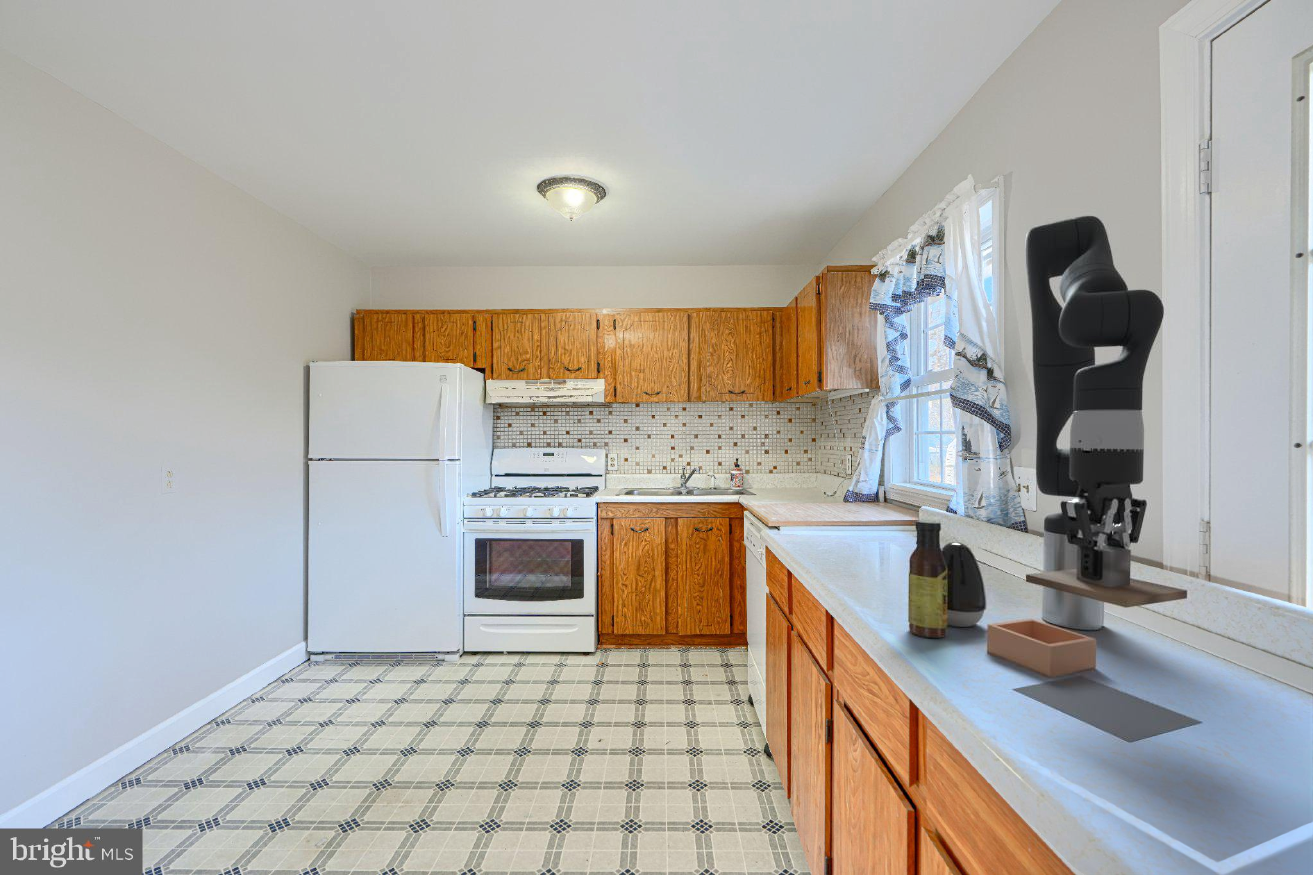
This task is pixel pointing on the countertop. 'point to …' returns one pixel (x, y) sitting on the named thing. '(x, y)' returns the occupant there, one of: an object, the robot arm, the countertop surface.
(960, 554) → the black egg-shaped device
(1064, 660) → the terracotta storage tray
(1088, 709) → the mat
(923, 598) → the sauce bottle
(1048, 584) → the lid
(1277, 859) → the countertop surface
